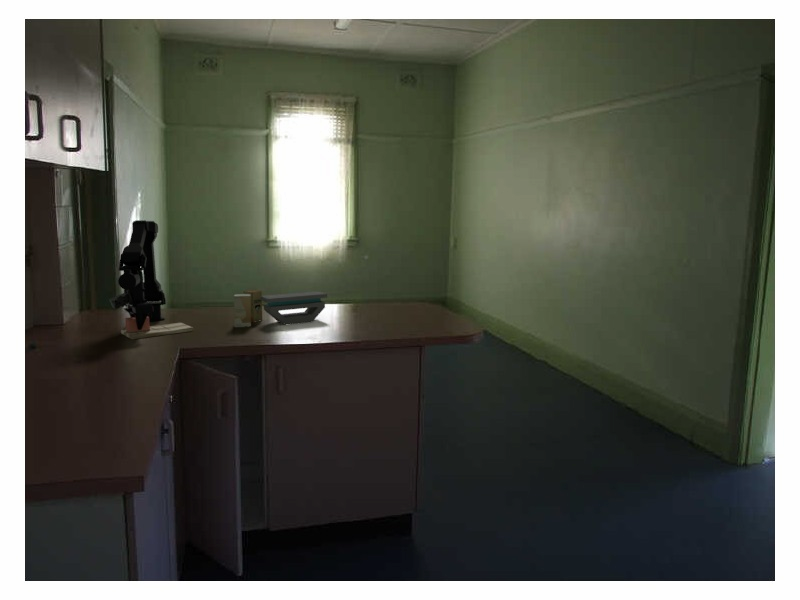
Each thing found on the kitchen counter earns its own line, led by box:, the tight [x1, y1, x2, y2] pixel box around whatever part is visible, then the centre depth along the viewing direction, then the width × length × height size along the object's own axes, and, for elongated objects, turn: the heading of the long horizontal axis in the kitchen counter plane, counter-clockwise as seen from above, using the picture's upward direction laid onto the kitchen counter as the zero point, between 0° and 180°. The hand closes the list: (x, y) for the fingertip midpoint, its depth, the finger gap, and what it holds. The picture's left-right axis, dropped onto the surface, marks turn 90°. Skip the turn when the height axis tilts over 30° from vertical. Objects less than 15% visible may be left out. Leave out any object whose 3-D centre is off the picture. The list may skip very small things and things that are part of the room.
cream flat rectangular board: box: [120, 322, 194, 340], centre depth 223 cm, size 12×22×1 cm, turn 131°
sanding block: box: [124, 316, 151, 334], centre depth 219 cm, size 4×7×5 cm, turn 131°
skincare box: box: [233, 293, 252, 328], centre depth 234 cm, size 6×4×12 cm
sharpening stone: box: [261, 290, 328, 326], centre depth 243 cm, size 25×8×11 cm, turn 122°
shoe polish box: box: [243, 289, 263, 323], centre depth 244 cm, size 5×5×12 cm
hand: (137, 328), depth 219 cm, fingers closed on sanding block, 4 cm apart
